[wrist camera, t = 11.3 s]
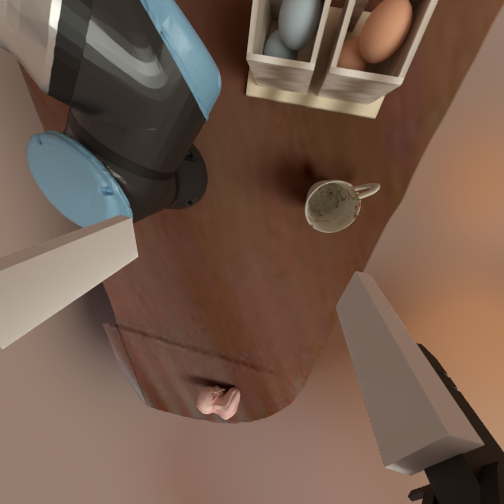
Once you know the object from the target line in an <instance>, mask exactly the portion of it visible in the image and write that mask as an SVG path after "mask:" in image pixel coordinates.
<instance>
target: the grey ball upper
mask: <svg viewBox="0 0 504 504" xmlns="http://www.w3.org/2000/svg"><path fill="white" fill-rule="evenodd" d="M320 20H321V0H284V1H283V3H282V5H281V9H280V13H279V23H278V24H279V33H280V37H281V39H282V41H283V43H284V44H285V46H286V47H288V48H289V49H291V50H301V49H303V48H305V47H306V46H307V45H308V44H309V43H310V42H311V41H312V40H313V38H314V36H315V35H316V33H317V30H318V28H319V24H320Z"/></svg>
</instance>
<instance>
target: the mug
mask: <svg viewBox="0 0 504 504" xmlns="http://www.w3.org/2000/svg"><path fill="white" fill-rule="evenodd" d="M365 188H371V189H370V190H368V191H366V192H363V193H361V194H359V193H358V190H361V189H365ZM379 188H380V185H379V184H377V183H369V184H364V185H359V186H355V187H354V186H352V185H351V184H349V183H347V182H345V181H341V180H323V181H319V182H317V183H315V184H314V185H312V186H311V188H310V189H309V191H308V193H307V198H306V202H305V216H306V219H307V221H308V223H309V224H310V225H311V226H312V227H313V228H315V229H316V230H318V231H321V232H336V231H339V230H342V229H344V228H346V227H347V226H349V225H350V224H351V223H352V222H353V221H354V220H355V218H356V217H357V215H358V213H359V210H360V205H361V200H360V199H361V198H364V197H367V196H369V195H372V194H374V193H375V192H377V191H378V190H379Z"/></svg>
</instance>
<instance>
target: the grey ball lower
mask: <svg viewBox="0 0 504 504" xmlns="http://www.w3.org/2000/svg"><path fill="white" fill-rule="evenodd" d="M263 55H265V56H271V57H277V58H283V59H289V60H296V61H297V57H298V50H291V49H289V48H288V47H286V46H285V44H284V43H283V41H282V39H281V37H280V33H279V29H278V30H276V31H274V32H273V33H272V34H271V35H270V37H269V38H268V40H267V42H266V44H265V48H264V54H263Z"/></svg>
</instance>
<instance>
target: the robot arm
mask: <svg viewBox="0 0 504 504" xmlns="http://www.w3.org/2000/svg"><path fill="white" fill-rule="evenodd" d="M0 47H1V48H3V49H4V50H7V51H8V52H10V53H11V54H12V55H13V56H14V57H15V58H16V59H17V60H18V61H19V62H20V63H21V64H22V65H23V67H24V68H25V69H26V71H27V72H28V73H29V75H30V76H31V77H32V79H33V80H34V81H35V83H36V84H37V85H38V87H39V88H40V89H41V91H42V92H44V93H46V94H48V95H50V96H52V97H53V98H55V99H57V100H59V101H61V102H63V103H65V104H67V105H69V106H70V109H69V114H68V118H67V123H66V128H65V131H64V132H63V133H61V132H59V131H52V130H48V131H46V132H44V133H42V134H35V135H33V136H32V137H31V138H30V139H29V141H28V143H27V147H26V157H27V162H28V166H29V168H30V171H31V173H32V176H33V178H34V180H35V181H36V183H37V185H38V186H39V188H40V189H41V191H42V192H43V193H44V195H45V196H46V197H47V199H48V200H49V201H50V202H51V203H52V204H53V206H54V207H55V208H56V209H57V210H59V211H60V212H61V213H62V214H63V215H64V216H66V217H67V218H68V219H70V220H71V221H73V222H74V223H76V224H77V225H79V226H81V227H83V228H82V229H79V230H76V231H74V232H71V233H68V234H65V235H63V236H60V237H57V238H55V239H51V240H49V241H46V242H43V243H40V244H37V245H35V246H32V247H29V248H26V249H24V250H21V251H18V252H15V253H13V254H10V255H7V256H4V257H1V258H0V349H4V348H5V347H7V346H8V345H10V344H11V343H13V342H14V341H16V340H17V339H19V338H20V337H21V336H23V335H24V334H26V333H27V332H29V331H30V330H32V329H33V328H35V327H36V326H38V325H39V324H40V323H42V322H43V321H45V320H46V319H48V318H49V317H51V316H52V315H54V314H55V313H56V312H58V311H60V310H61V309H62V308H64V307H65V306H67V305H68V304H70V303H71V302H73V301H74V300H75V299H77V298H79V297H80V296H82V295H83V294H84V293H86V292H87V291H89V290H90V289H92V288H93V287H95V286H96V285H98V284H99V283H100V282H102V281H103V280H105V279H106V278H108V277H109V276H111V275H112V274H114V273H115V272H117V271H118V270H120V269H121V268H122V267H124V266H125V265H127V264H128V263H130V262H131V261H133V260H134V259H136V258H137V257H138V253H137V247H136V241H135V234H134V228H133V223H135V222H137V221H139V220H142V219H144V218H146V217H148V216H150V215H152V214H155V213H157V212H159V211H161V210H163V209H165V208H166V209H185V208H188V207H190V206H192V205H194V204H196V203H197V202H198V201H199V200H200V199H201V198H202V197H203V195H204V193H205V190H206V187H207V170H206V166H205V163H204V160H203V158H202V156H201V154H200V153H199V151H198V150H197V149H196V147H195V146H194V145H193V144H192V143H193V142H194V140H195V138H196V137H197V135H198V133H199V131H200V130H201V128H202V126H203V125H204V123H205V121H208V119H209V116H208V115H209V113H210V111H211V109H212V107H213V106H214V104H215V102H216V100H217V98H218V96H219V94H220V91H221V76H220V73H219V70H218V68H217V66H216V64H215V62H214V60H213V58H212V57H211V55H210V53H209V52H208V50H207V49H206V47H205V45H204V44H203V42H202V41H201V39H200V38H199V36H198V35H197V33H196V31H195V30H194V28H193V27H192V26H191V24H190V23H189V21H188V20H187V18H186V17H185V15H184V14H183V12H182V11H181V9H180V8H179V6H178V5H177V4H176V2H175V1H174V0H0ZM336 310H337V314H338V317H339V320H340V323H341V327H342V330H343V333H344V336H345V339H346V343H347V346H348V350H349V353H350V356H351V359H352V362H353V366H354V369H355V372H356V376H357V379H358V382H359V386H360V389H361V392H362V395H363V398H364V402H365V405H366V408H367V411H368V415H369V418H370V422H371V425H372V428H373V431H374V435H375V438H376V441H377V444H378V448H379V451H380V454H381V457H382V461H383V464H384V467H385V468H388V469H391V470H395V471H398V472H401V473H404V474H407V475H413V474H416V473H418V472H420V471H423V470H424V471H425V473H426V475H427V478H428V480H429V482H430V484H429V485H426V486H423V487H421V488H417V489H415V490H412V491H411V492H410V494H409V495H408V497H409V498H410V500H411V501H415V500H419V499H422V498H423V500H422V504H504V452H503V451H502V449H501V448H500V446H499V445H498V444H497V442H496V441H495V440H494V438H493V437H492V435H491V434H490V433H489V431H488V430H487V429H486V427H485V426H484V424H483V423H482V421H481V420H480V419H479V418H478V416H477V415H476V413H475V412H474V410H473V409H472V408H471V406H470V405H469V403H468V402H467V401H466V399H465V398H464V396H463V395H462V394H461V392H459V391H457V387H456V385H455V384H454V383H453V381H452V380H451V378H449V377H448V376H447V373H446V372H445V370H444V369H443V367H442V366H441V365H440V363H439V362H438V360H437V359H436V358H435V357H434V356H433V355H432V354H431V353H430V352H429V351H428V350H427V349H426V348H425V347H424V346H423V345H422V344H418V343H416V342H415V341H414V339H413V338H412V336H411V335H410V333H409V332H408V330H407V329H406V327H405V326H404V325H403V323H402V321H401V320H400V318H399V317H398V315H397V314H396V312H395V311H394V309H393V308H392V307H391V305H390V303H389V302H388V300H387V299H386V298H385V296H384V295H383V293H382V292H381V290H380V289H379V287H378V286H377V284H376V283H375V281H374V280H373V278H372V277H371V275H370V274H366V273H362V272H358V271H355V273H354V275H353V277H352V278H351V280H350V282H349V284H348V285H347V287H346V289H345V291H344V293H343V294H342V296H341V298H340V300H339V301H338V303H337V305H336Z"/></svg>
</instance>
